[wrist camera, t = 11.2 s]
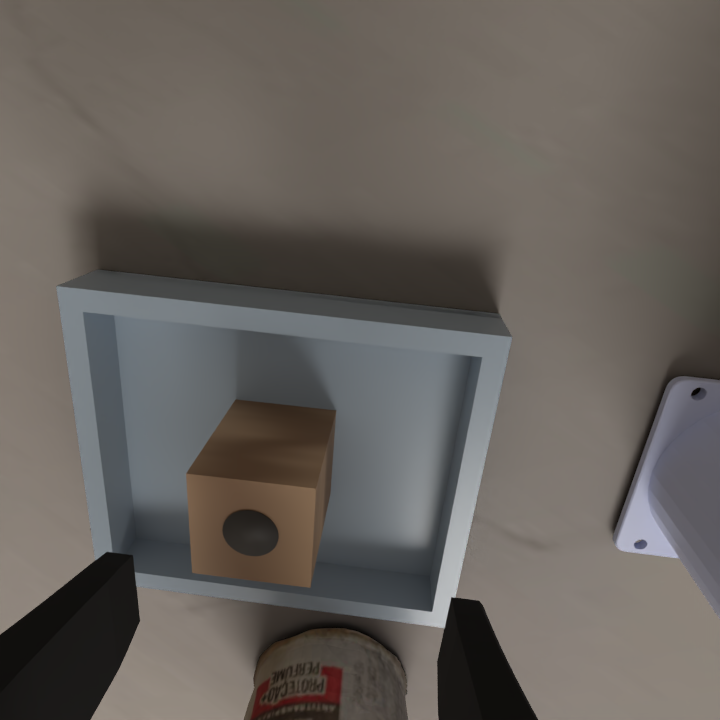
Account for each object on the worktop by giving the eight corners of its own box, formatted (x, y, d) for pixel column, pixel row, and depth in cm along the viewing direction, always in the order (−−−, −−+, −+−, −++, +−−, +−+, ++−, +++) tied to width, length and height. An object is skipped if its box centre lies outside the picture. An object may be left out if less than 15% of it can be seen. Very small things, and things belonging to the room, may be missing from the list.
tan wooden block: (336, 410, 20) (316, 489, 16) (330, 494, 22) (310, 588, 17) (235, 399, 20) (185, 474, 16) (236, 483, 22) (191, 574, 17)
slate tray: (499, 313, 19) (512, 337, 16) (444, 581, 24) (448, 628, 22) (97, 269, 19) (56, 286, 17) (127, 540, 24) (98, 581, 22)
